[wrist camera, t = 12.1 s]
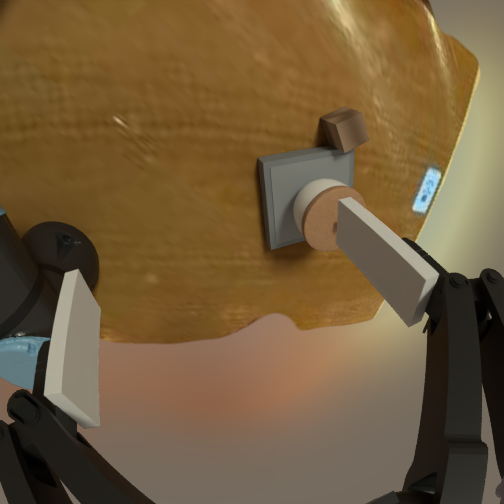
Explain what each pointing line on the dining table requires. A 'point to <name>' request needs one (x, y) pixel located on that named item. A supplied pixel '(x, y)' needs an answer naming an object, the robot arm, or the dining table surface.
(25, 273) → the robot arm
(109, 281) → the dining table surface
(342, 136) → the walnut block
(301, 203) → the lidded jar
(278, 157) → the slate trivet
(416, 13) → the dining table surface
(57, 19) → the dining table surface
